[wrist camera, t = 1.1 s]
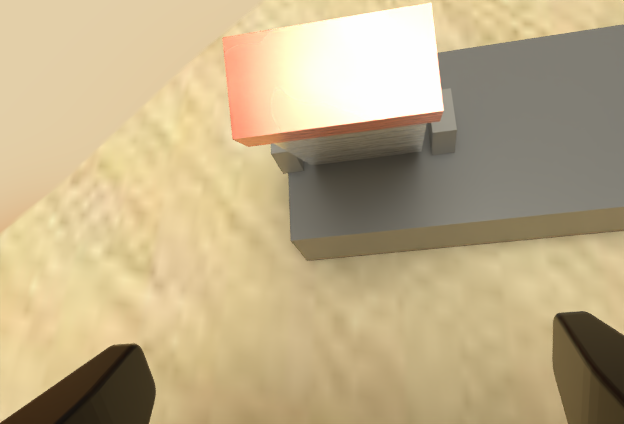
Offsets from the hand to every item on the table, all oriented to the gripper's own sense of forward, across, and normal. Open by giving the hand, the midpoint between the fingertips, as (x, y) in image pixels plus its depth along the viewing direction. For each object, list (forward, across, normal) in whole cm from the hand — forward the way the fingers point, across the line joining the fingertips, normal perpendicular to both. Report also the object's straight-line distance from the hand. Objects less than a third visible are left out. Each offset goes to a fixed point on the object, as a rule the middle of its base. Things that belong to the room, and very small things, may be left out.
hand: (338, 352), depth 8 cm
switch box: (+16, -7, +4) cm, 18 cm away
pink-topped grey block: (+13, 0, +1) cm, 13 cm away
